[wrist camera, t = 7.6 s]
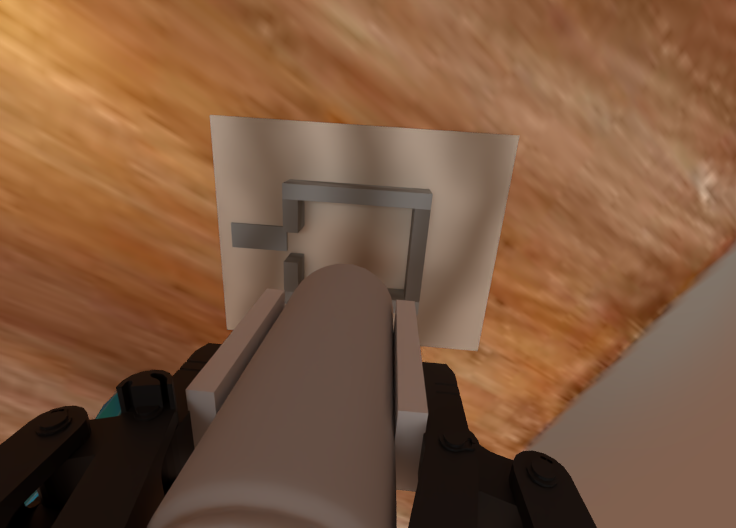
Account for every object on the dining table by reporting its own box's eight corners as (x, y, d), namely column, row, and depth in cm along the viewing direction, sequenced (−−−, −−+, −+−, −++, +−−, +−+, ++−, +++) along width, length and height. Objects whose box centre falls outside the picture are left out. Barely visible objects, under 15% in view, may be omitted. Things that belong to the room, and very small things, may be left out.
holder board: (233, 322, 31) (215, 343, 28) (217, 115, 25) (194, 113, 22) (474, 342, 30) (483, 366, 27) (513, 135, 24) (530, 136, 21)
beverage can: (279, 325, 18) (90, 645, 7) (317, 241, 16) (151, 476, 5) (368, 364, 18) (328, 726, 7) (412, 285, 17) (451, 594, 6)
